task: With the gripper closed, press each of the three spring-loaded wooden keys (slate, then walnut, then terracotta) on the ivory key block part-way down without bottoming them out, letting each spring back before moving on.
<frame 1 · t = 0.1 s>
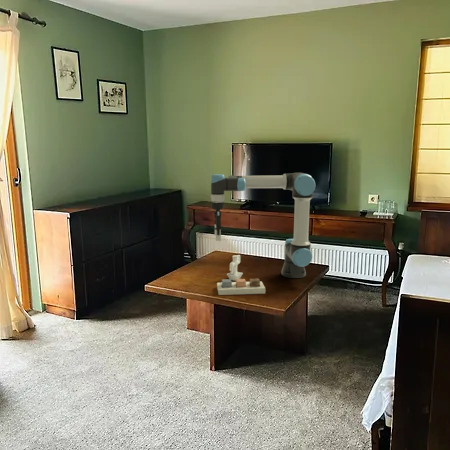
hand: (217, 237, 257), 28 cm above the table, fingers open, 13 cm apart
walnut key: (254, 283, 252), point 4 cm above the table, slide at 0.0 cm
terracotta key: (240, 283, 251), point 4 cm above the table, slide at 0.0 cm
key block: (240, 290, 252), on the table
slate key: (226, 284, 250), point 4 cm above the table, slide at 0.0 cm
figurine: (234, 279, 271), on the table
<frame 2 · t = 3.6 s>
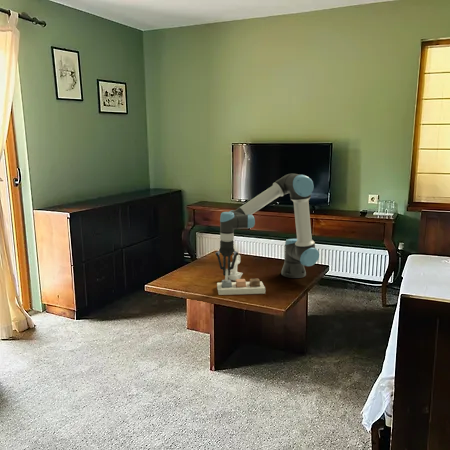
hand: (226, 280, 250), 6 cm above the table, fingers closed
slate key: (226, 284, 250), point 4 cm above the table, slide at 0.3 cm, touching gripper
everything else where it was.
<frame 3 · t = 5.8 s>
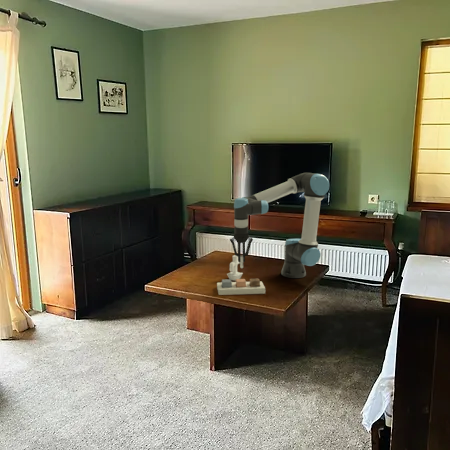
hand: (241, 267, 249), 13 cm above the table, fingers closed
slate key: (226, 284, 250), point 4 cm above the table, slide at 0.1 cm
everything else where it was.
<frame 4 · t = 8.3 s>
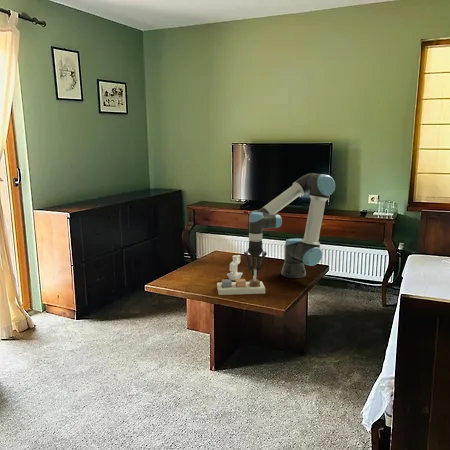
hand: (254, 280, 251), 6 cm above the table, fingers closed
walnut key: (254, 284, 252), point 3 cm above the table, slide at 0.7 cm, touching gripper
everything else where it was.
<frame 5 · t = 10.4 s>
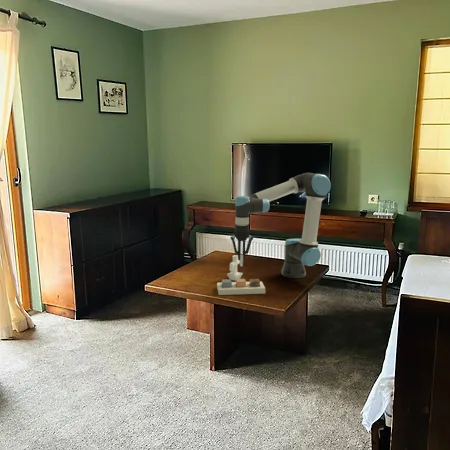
hand: (241, 265, 249), 15 cm above the table, fingers closed
walnut key: (254, 283, 252), point 4 cm above the table, slide at 0.2 cm
everything else where it was.
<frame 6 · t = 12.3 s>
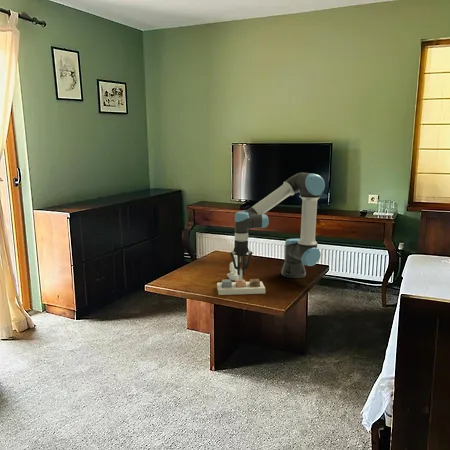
hand: (240, 280, 250), 6 cm above the table, fingers closed
terracotta key: (240, 284, 251), point 4 cm above the table, slide at 0.4 cm, touching gripper
everything else where it was.
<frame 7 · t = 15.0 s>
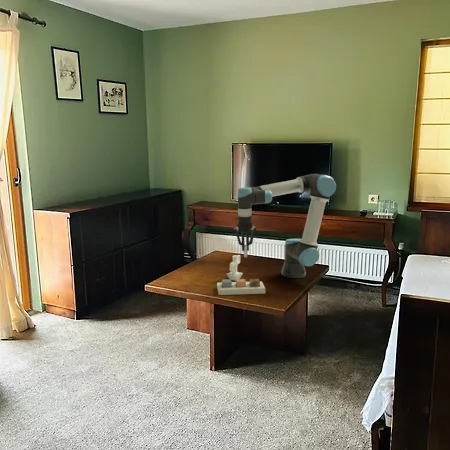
hand: (245, 256, 252), 19 cm above the table, fingers closed
terracotta key: (240, 283, 251), point 4 cm above the table, slide at 0.1 cm
everything else where it was.
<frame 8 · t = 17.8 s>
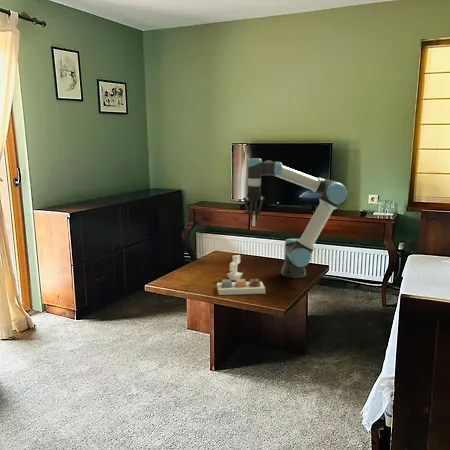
hand: (253, 225, 259), 34 cm above the table, fingers closed
nothing on the table moved.
at the end: slate key slide at 0.1 cm; walnut key slide at 0.2 cm; terracotta key slide at 0.1 cm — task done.
